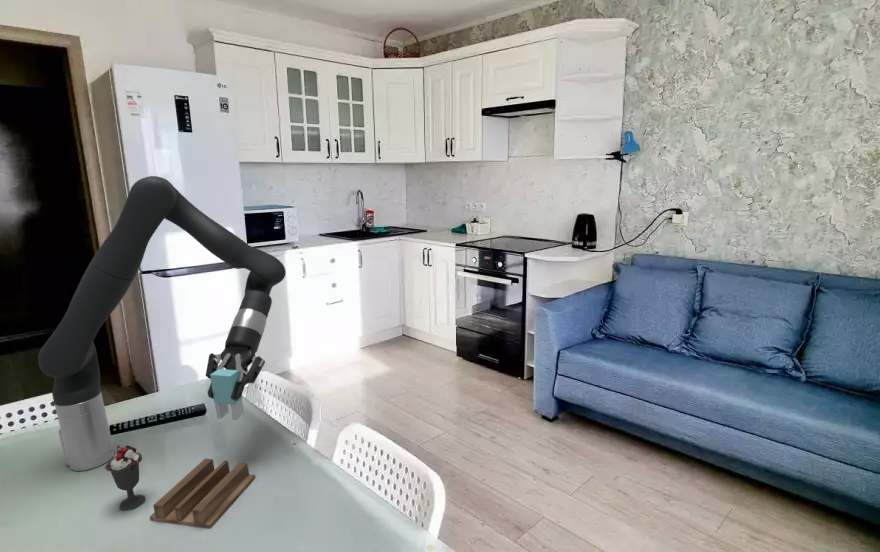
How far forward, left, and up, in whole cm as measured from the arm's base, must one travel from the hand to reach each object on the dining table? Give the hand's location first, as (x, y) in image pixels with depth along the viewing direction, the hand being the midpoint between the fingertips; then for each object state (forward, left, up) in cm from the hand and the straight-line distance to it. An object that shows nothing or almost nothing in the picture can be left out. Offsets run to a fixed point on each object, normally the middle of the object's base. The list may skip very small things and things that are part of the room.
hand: (222, 398), depth 112 cm
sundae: (-15, -14, -19) cm, 28 cm away
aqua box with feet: (0, +2, -5) cm, 6 cm away
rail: (0, -10, -18) cm, 21 cm away
